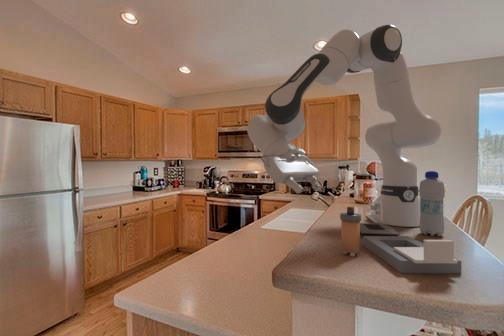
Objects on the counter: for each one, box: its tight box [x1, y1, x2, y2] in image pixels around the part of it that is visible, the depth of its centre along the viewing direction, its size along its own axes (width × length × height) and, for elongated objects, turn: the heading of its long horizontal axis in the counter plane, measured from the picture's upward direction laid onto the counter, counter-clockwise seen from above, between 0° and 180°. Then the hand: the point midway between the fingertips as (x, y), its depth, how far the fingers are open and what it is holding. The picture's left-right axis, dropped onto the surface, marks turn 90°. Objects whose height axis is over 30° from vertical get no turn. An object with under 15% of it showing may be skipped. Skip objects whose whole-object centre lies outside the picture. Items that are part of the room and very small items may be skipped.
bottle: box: [418, 170, 446, 237], centre depth 79 cm, size 7×7×20 cm
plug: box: [339, 206, 362, 258], centre depth 62 cm, size 5×5×12 cm
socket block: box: [362, 235, 462, 274], centre depth 59 cm, size 18×12×2 cm, turn 179°
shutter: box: [394, 239, 457, 263], centre depth 52 cm, size 9×8×5 cm
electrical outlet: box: [360, 222, 401, 236], centre depth 81 cm, size 13×10×2 cm
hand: (310, 190), depth 69 cm, fingers open, 8 cm apart
